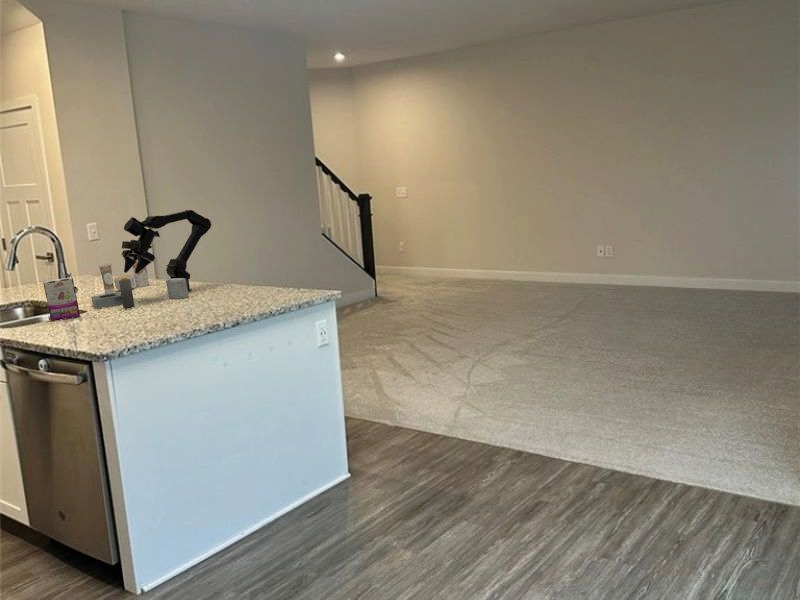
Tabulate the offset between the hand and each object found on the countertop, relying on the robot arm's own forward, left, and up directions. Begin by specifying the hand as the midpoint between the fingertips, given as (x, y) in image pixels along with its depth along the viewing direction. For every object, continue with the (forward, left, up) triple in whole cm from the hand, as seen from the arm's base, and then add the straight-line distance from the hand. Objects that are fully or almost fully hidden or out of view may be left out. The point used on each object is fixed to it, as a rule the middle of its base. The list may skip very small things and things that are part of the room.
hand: (130, 272), depth 305 cm
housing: (+12, +1, -14) cm, 19 cm away
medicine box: (-18, -6, -14) cm, 23 cm away
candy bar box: (+17, +25, -14) cm, 33 cm away
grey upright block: (-3, +10, -14) cm, 17 cm away
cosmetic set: (+25, -36, -14) cm, 47 cm away
